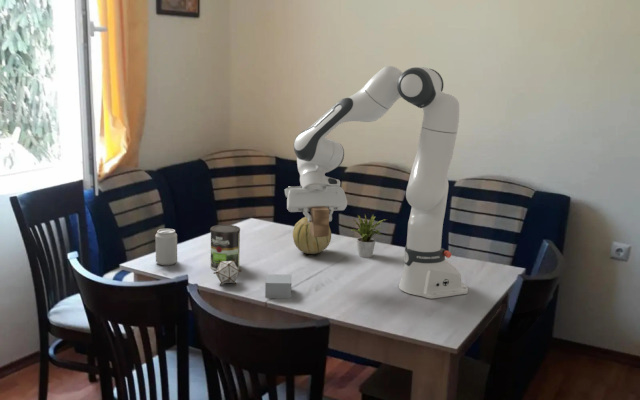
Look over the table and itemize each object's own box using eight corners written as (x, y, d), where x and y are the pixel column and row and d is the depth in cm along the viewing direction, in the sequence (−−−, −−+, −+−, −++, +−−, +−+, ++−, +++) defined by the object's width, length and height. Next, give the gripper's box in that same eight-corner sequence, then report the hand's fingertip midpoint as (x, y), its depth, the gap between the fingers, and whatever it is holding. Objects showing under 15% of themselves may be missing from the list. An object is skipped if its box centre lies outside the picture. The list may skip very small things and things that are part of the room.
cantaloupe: (332, 248, 252) (333, 211, 248) (328, 260, 237) (330, 221, 234) (294, 246, 253) (296, 209, 250) (289, 257, 239) (290, 218, 235)
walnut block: (324, 232, 215) (325, 206, 213) (328, 236, 210) (329, 209, 208) (310, 233, 214) (310, 206, 212) (313, 237, 209) (314, 210, 207)
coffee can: (232, 273, 219) (232, 233, 216) (205, 269, 222) (205, 230, 219) (244, 264, 229) (245, 226, 226) (218, 260, 232) (218, 223, 229)
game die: (230, 296, 209) (234, 279, 201) (207, 284, 209) (210, 267, 202) (243, 276, 215) (247, 259, 207) (220, 265, 215) (223, 247, 208)
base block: (291, 289, 207) (291, 274, 205) (291, 298, 199) (291, 283, 198) (266, 288, 206) (266, 274, 205) (265, 298, 198) (265, 282, 197)
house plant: (383, 263, 235) (386, 220, 232) (346, 260, 237) (348, 218, 234) (385, 252, 249) (388, 211, 246) (350, 249, 251) (352, 209, 248)
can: (151, 264, 225) (151, 231, 222) (162, 258, 232) (161, 226, 229) (171, 267, 223) (171, 234, 220) (181, 260, 230) (180, 228, 227)
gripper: (285, 181, 212) (290, 217, 205) (344, 180, 217) (351, 214, 210) (282, 192, 218) (287, 227, 210) (340, 190, 222) (347, 224, 215)
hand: (320, 220), depth 210 cm, fingers closed on walnut block, 5 cm apart
